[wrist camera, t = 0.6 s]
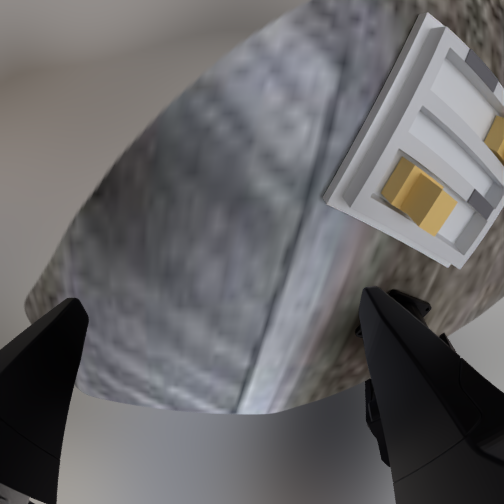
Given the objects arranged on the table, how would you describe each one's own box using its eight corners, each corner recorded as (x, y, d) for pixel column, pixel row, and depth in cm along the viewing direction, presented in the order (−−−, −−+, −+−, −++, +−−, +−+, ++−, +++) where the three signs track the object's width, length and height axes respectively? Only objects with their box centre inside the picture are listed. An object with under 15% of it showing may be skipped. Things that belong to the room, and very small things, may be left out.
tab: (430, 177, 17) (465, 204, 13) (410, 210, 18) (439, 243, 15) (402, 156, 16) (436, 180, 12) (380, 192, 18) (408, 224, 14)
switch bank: (521, 125, 14) (544, 135, 11) (442, 260, 22) (457, 281, 20) (418, 14, 11) (443, 8, 8) (322, 197, 19) (333, 217, 17)
